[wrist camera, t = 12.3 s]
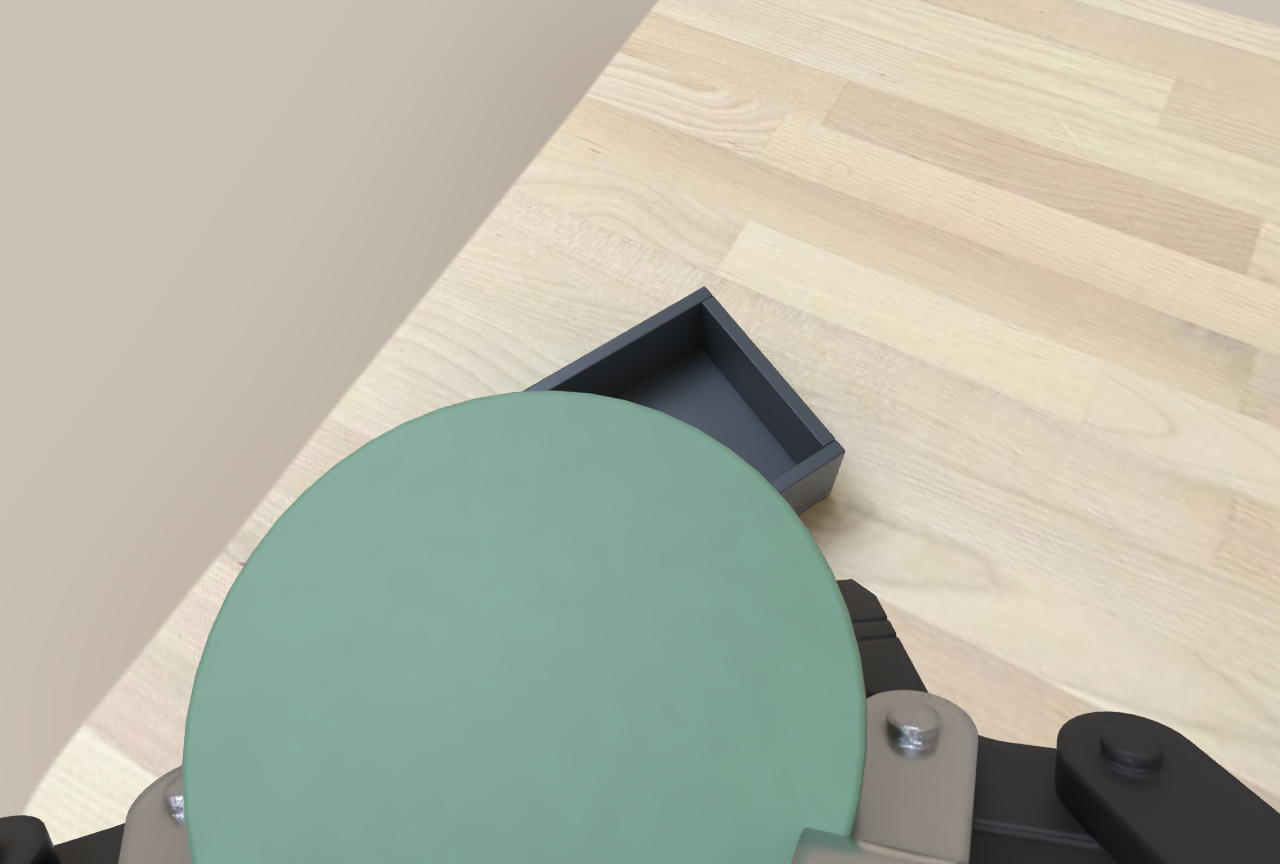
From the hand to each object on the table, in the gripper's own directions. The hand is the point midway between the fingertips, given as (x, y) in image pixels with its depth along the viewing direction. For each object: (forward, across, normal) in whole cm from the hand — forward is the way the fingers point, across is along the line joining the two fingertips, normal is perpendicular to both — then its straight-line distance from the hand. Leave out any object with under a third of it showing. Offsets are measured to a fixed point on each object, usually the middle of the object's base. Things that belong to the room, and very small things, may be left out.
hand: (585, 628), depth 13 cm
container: (+2, 0, -5) cm, 5 cm away
